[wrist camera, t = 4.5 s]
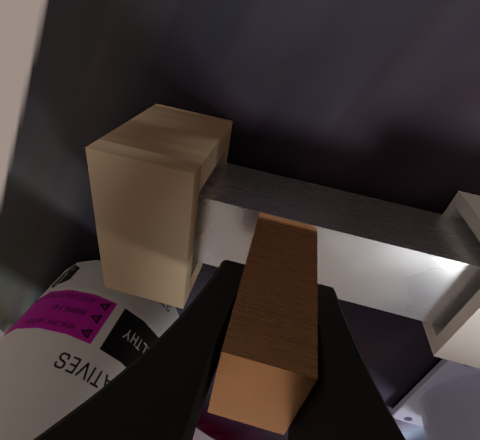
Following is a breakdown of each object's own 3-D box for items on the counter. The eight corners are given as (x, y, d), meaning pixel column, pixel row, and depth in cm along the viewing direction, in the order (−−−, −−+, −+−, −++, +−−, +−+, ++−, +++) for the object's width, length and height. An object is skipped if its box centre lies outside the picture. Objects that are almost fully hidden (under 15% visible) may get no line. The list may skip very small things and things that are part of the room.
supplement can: (57, 300, 23) (-236, 634, 11) (85, 229, 18) (-377, 680, 6) (155, 352, 24) (-8, 702, 12) (205, 299, 20) (21, 782, 7)
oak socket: (232, 120, 13) (194, 173, 9) (216, 233, 16) (183, 308, 12) (156, 103, 13) (84, 147, 9) (156, 218, 17) (104, 287, 13)
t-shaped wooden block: (532, 236, 12) (787, 509, 6) (485, 287, 14) (636, 541, 7) (166, 148, 13) (17, 290, 7) (165, 206, 15) (45, 365, 8)
